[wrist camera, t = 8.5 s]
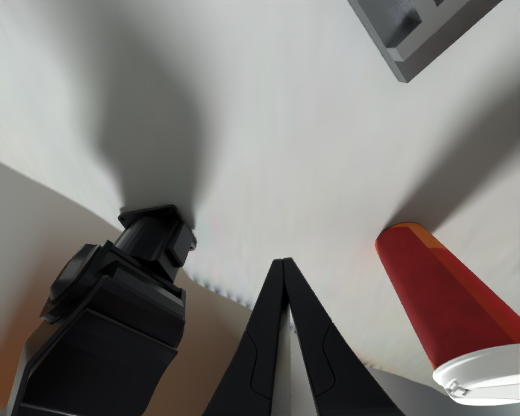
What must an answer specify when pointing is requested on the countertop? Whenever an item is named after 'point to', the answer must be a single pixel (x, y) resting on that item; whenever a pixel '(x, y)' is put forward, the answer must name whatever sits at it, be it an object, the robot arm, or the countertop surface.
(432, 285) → the paper cup
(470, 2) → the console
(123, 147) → the countertop surface
